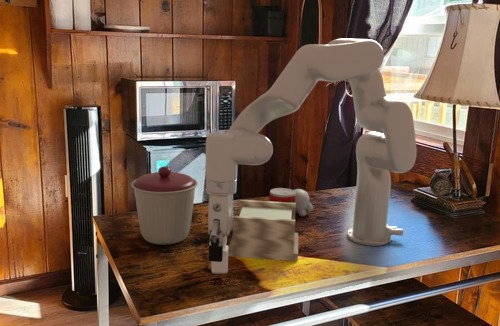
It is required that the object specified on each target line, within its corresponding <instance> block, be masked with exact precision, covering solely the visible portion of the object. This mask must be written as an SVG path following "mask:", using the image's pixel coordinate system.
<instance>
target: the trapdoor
mask: <svg viewBox="0 0 500 326" xmlns="http://www.w3.org/2000/svg"><path fill="white" fill-rule="evenodd" d="M240 216H242V217H258V218H274V219H290V220H291V216H292V209H277V208H261V207H244V206H243V207H242V210H241V213H240Z"/></svg>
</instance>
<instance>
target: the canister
mask: <svg viewBox="0 0 500 326" xmlns="http://www.w3.org/2000/svg"><path fill="white" fill-rule="evenodd" d="M198 184H199V183H198V181H197V180H196V179H194V178H193V177H192V176H190V175H188V174H185V173H181V172H175V171H174V172H173V171H172V169H171V168H170V167H169V166H166V165H163V166H161V167H159V169H158V171H157V172H151V173H146V174H143V175H141V176H139V177H137V178H136V179H134V180H133V181H132V182H131V184H130V185H131V187H132V189H134V196H135V202H136V203H135V205H136V210H137V211H136V212H137V217H138V224H139V230H140V233H141V236H142V238H143V239H144V241H146V242H148V243H150V244H155V245H161V246H162V245H163V246H164V245H166V246H167V245H173V244H174V245H175V244H177V243H181V242H182V241H184V240H185V239H186V238H187V237H188V236H189V233H190V230H191V226H192V218H193V211H194V210H193V209H194V201H195V192H196V188H197V187H198Z"/></svg>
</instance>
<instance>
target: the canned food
mask: <svg viewBox="0 0 500 326" xmlns="http://www.w3.org/2000/svg"><path fill="white" fill-rule="evenodd" d="M294 190H295V189H292V188H286V187H285V188H284V187H276V188H272V189H270V191H269V200H268V201H271V202H287V203H295V198H296V192H295V191H294Z"/></svg>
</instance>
